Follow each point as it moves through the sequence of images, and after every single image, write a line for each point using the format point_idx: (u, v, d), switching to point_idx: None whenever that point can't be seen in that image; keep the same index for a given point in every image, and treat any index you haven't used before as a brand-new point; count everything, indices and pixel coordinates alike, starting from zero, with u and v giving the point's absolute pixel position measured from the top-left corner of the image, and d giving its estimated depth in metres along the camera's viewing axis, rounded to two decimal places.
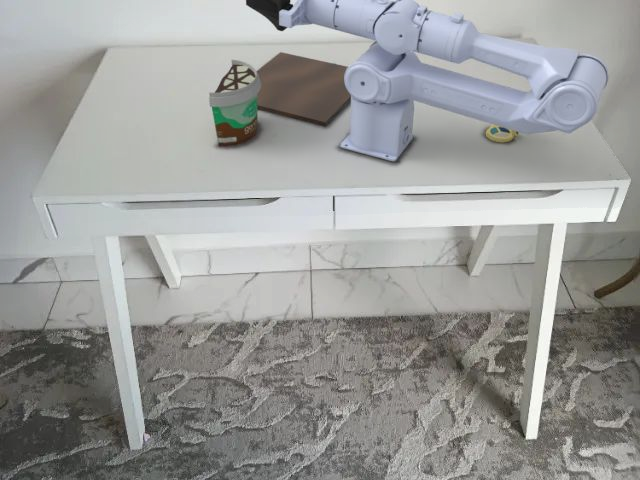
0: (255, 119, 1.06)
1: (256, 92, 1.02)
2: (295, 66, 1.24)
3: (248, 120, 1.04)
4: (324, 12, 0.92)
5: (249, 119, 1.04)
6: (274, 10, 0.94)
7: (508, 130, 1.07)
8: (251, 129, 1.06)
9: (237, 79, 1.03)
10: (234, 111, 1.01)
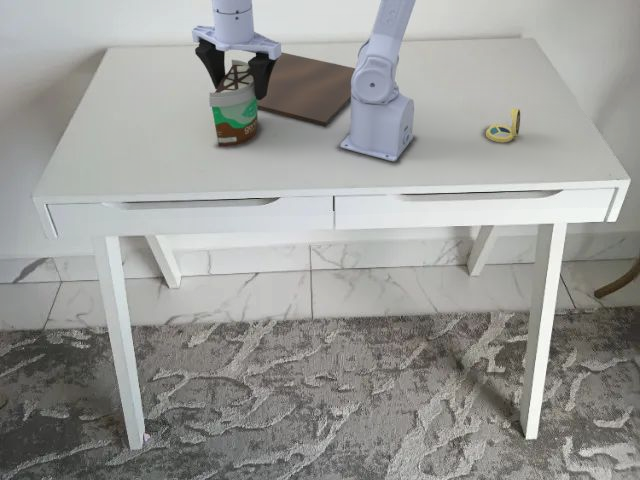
0: (255, 119, 1.06)
1: None
2: (295, 66, 1.24)
3: (248, 120, 1.04)
4: (248, 20, 0.94)
5: (249, 119, 1.04)
6: None
7: (508, 130, 1.07)
8: (251, 129, 1.06)
9: (237, 79, 1.03)
10: (234, 111, 1.01)
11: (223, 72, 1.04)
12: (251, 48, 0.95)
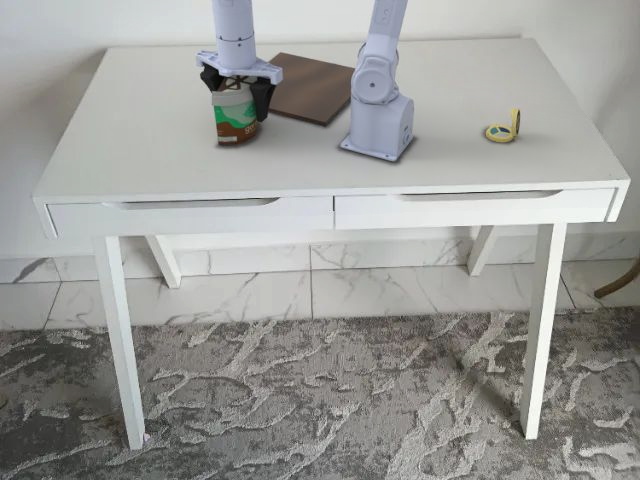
0: (256, 119, 1.06)
1: None
2: (295, 66, 1.24)
3: (249, 120, 1.04)
4: (250, 47, 0.97)
5: (250, 119, 1.04)
6: None
7: (508, 130, 1.07)
8: (252, 129, 1.06)
9: (239, 79, 1.03)
10: (236, 111, 1.01)
11: None
12: (253, 73, 0.98)
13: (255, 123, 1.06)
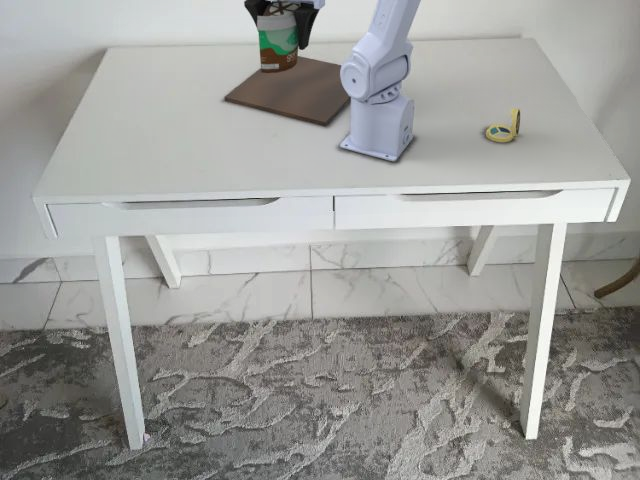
0: (297, 48, 1.10)
1: None
2: (295, 66, 1.24)
3: (291, 47, 1.08)
4: None
5: (292, 47, 1.08)
6: None
7: (508, 130, 1.07)
8: (293, 57, 1.09)
9: (282, 7, 1.06)
10: (280, 37, 1.05)
11: None
12: None
13: (296, 52, 1.10)
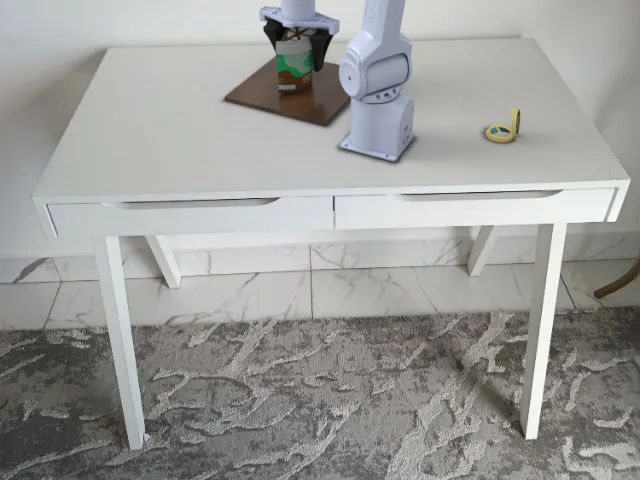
0: (312, 70, 1.16)
1: None
2: None
3: (307, 70, 1.14)
4: (311, 0, 1.08)
5: (308, 69, 1.15)
6: None
7: (508, 130, 1.07)
8: (308, 79, 1.16)
9: (299, 32, 1.13)
10: (297, 60, 1.12)
11: None
12: (314, 25, 1.08)
13: (311, 73, 1.17)
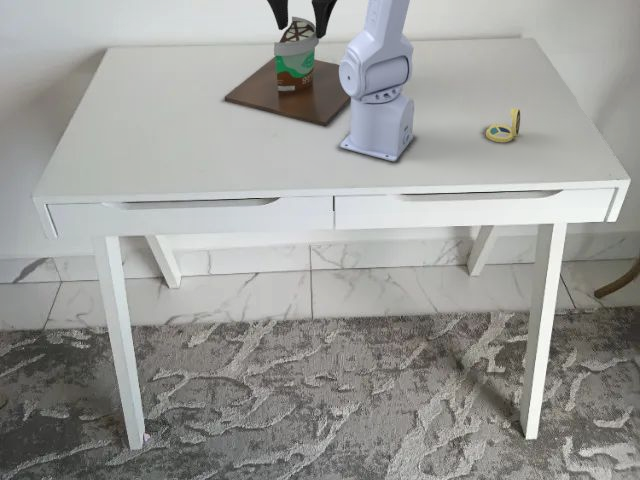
0: (312, 71, 1.17)
1: (315, 45, 1.12)
2: None
3: (306, 71, 1.15)
4: None
5: (307, 70, 1.15)
6: None
7: (508, 130, 1.07)
8: (308, 80, 1.16)
9: (298, 33, 1.14)
10: (295, 61, 1.12)
11: (286, 14, 1.14)
12: None
13: (311, 74, 1.17)
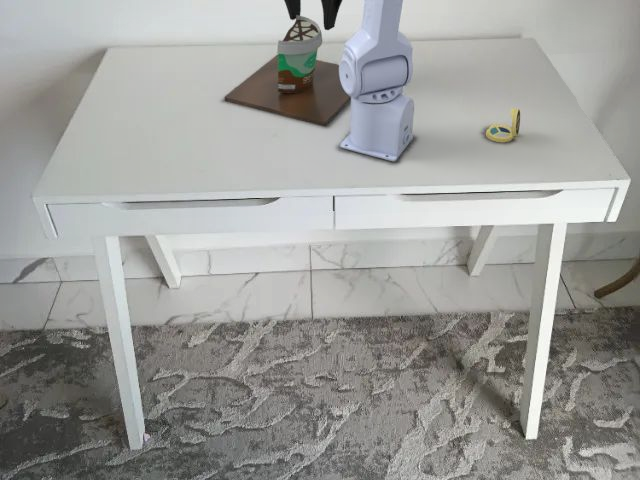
0: (313, 71, 1.17)
1: (318, 45, 1.12)
2: None
3: (307, 71, 1.15)
4: None
5: (308, 70, 1.15)
6: (333, 0, 1.11)
7: (508, 130, 1.07)
8: (308, 79, 1.16)
9: (302, 32, 1.13)
10: (298, 60, 1.12)
11: (298, 5, 1.17)
12: None
13: (312, 74, 1.17)
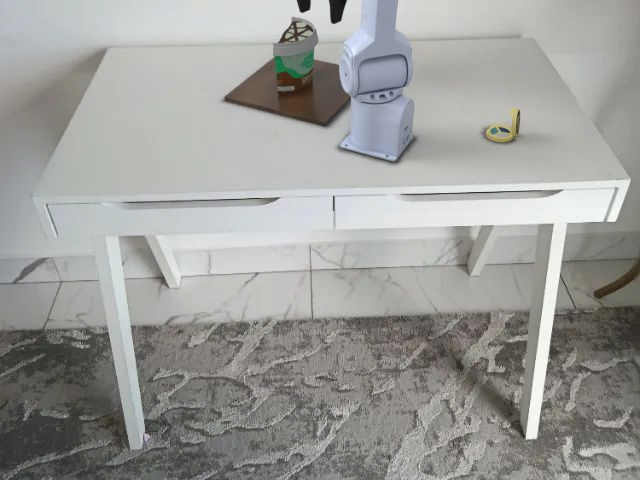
0: (311, 71, 1.17)
1: (314, 45, 1.12)
2: None
3: (306, 71, 1.15)
4: None
5: (306, 70, 1.15)
6: None
7: (508, 130, 1.07)
8: (308, 80, 1.16)
9: (297, 33, 1.14)
10: (294, 61, 1.12)
11: None
12: None
13: (311, 74, 1.17)
